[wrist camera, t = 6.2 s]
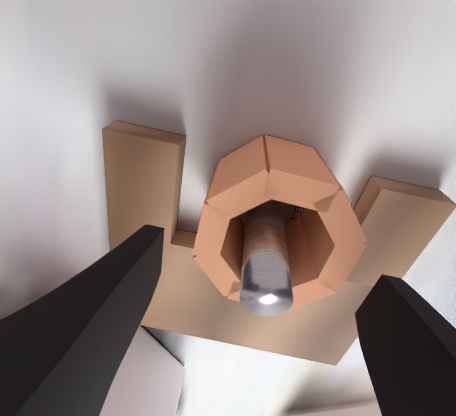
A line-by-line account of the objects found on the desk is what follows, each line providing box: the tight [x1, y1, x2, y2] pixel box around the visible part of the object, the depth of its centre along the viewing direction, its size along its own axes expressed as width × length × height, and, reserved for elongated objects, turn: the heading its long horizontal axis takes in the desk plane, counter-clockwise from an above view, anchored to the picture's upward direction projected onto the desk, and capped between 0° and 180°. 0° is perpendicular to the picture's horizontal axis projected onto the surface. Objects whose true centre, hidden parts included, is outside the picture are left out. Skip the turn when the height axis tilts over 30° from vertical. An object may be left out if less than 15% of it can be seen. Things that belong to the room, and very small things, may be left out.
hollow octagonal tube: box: [192, 135, 367, 309], centre depth 11 cm, size 5×5×4 cm
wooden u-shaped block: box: [102, 121, 456, 366], centre depth 14 cm, size 14×12×1 cm
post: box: [239, 199, 295, 317], centre depth 11 cm, size 3×3×6 cm
